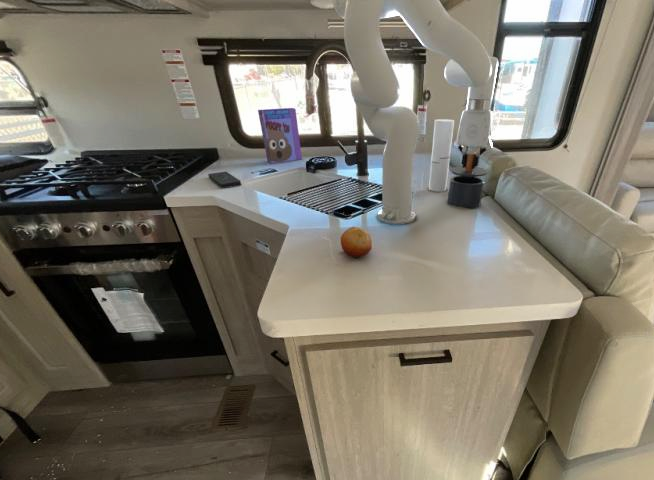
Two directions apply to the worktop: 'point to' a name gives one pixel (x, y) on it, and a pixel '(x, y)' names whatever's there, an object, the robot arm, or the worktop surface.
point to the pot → (465, 191)
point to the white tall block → (440, 154)
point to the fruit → (356, 242)
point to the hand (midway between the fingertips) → (469, 167)
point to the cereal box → (280, 135)
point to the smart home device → (224, 179)
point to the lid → (469, 168)
